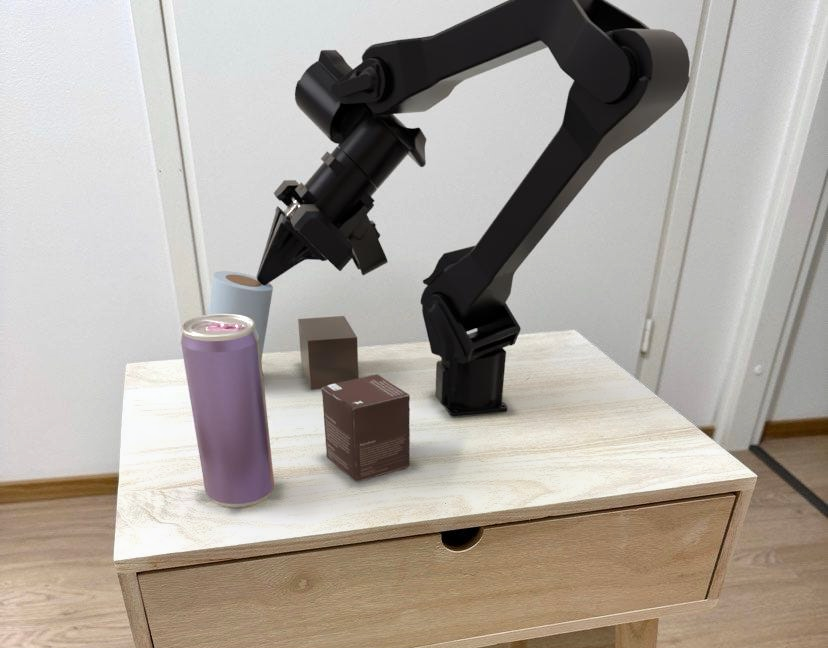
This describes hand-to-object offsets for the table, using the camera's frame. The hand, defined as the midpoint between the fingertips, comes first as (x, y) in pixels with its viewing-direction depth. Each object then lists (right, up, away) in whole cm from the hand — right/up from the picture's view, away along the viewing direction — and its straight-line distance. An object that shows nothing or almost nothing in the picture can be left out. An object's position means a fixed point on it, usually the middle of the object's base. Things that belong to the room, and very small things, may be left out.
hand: (259, 281), depth 82 cm
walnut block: (+7, -8, +8) cm, 13 cm away
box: (+12, -21, -10) cm, 27 cm away
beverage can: (+2, -24, -15) cm, 29 cm away
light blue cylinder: (0, -8, +6) cm, 10 cm away
